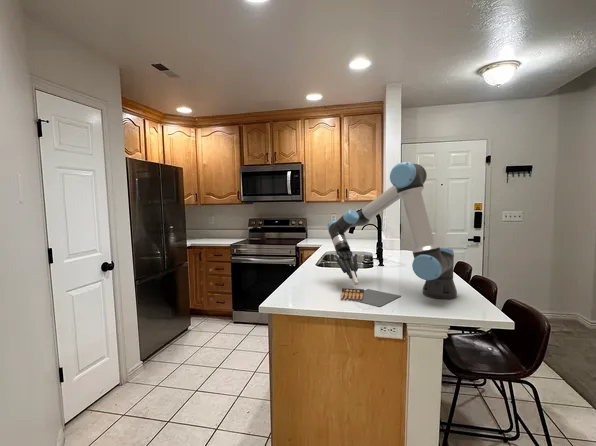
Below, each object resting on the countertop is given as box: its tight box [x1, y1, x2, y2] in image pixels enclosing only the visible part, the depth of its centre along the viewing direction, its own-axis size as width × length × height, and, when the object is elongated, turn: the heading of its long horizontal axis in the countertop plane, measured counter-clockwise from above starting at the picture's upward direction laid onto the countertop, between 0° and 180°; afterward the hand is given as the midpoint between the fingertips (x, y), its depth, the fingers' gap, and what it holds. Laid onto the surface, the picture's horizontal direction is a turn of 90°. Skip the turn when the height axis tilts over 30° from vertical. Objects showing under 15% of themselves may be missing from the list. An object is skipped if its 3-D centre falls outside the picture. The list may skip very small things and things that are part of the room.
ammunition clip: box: [340, 287, 365, 301], centre depth 149 cm, size 11×2×12 cm
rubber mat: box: [346, 288, 402, 308], centre depth 148 cm, size 18×20×1 cm
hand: (355, 283), depth 152 cm, fingers closed
